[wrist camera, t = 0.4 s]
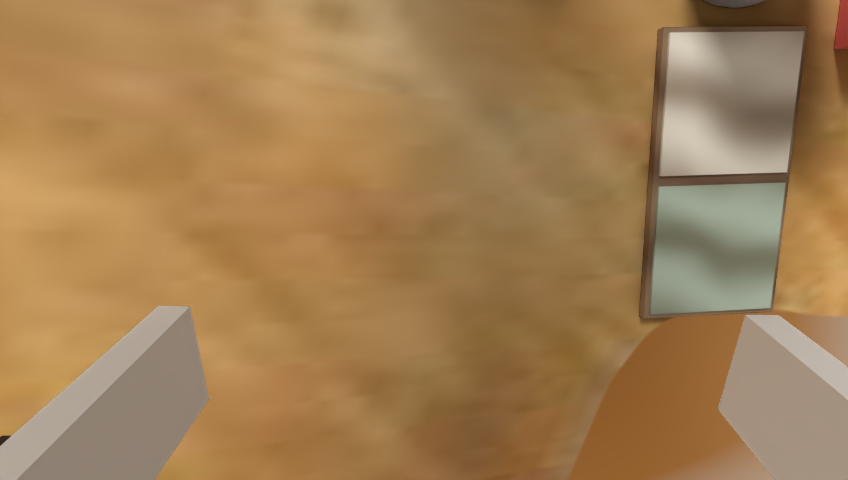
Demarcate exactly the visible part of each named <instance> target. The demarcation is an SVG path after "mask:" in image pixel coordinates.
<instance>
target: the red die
mask: <svg viewBox="0 0 848 480" xmlns="http://www.w3.org/2000/svg"><path fill="white" fill-rule="evenodd" d="M834 49H848V0H841V1H840V9H839V16H838V23H837V31H836V38H835V46H834Z"/></svg>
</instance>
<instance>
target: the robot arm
mask: <svg viewBox="0 0 848 480" xmlns="http://www.w3.org/2000/svg"><path fill="white" fill-rule="evenodd" d="M208 400H209V396H208V391H207V387H206V382H205V377H204V372H203V367H202V363H201V358H200V353H199V348H198V343H197V339H196V334H195V329H194V324H193V319H192V315H191V310H190V306H158V307H157V308H156V309H155V310H153V311H152V312H151V313H150V314H149V315H148V316H147V317H145V318H144V319H143V320H142V321H141V322H140V323H139V324H138V325H136V326H135V327H134V328H133V329H132V330H131V331H130V332H128V333H127V334H126V335H125V336H124V337H123V338H122V339H121V340H119V341H118V342H117V343H116V344H115V345H114V346H113V347H112V348H110V349H109V350H108V351H107V352H106V353H105V354H104V355H102V356H101V357H100V358H99V359H98V360H97V361H96V362H95V363H93V364H92V365H91V366H90V367H89V368H88V369H87V370H86V371H84V372H83V373H82V374H81V375H80V376H79V377H78V378H76V379H75V380H74V381H73V382H72V383H71V384H70V385H69V386H67V387H66V388H65V389H64V390H63V391H62V392H61V393H60V394H58V395H57V396H56V397H55V398H54V399H53V400H52V401H50V402H49V403H48V404H47V405H46V406H45V407H44V408H43V409H41V410H40V411H39V412H38V413H37V414H36V415H35V416H34V417H32V418H31V419H30V420H29V421H28V422H27V423H26V424H24V425H23V426H22V427H21V428H20V429H19V430H18V431H17V432H15V433H14V434H13V435H12V436H2V437H0V480H155V479H156V477H157V476H158V474H159V473H160V471H161V470H162V468H163V467H164V465H165V464H166V462H167V461H168V459H169V458H170V456H171V455H172V453H173V452H174V450H175V449H176V447H177V446H178V444H179V443H180V442H181V440H182V439H183V437H184V436H185V434H186V433H187V431H188V430H189V428H190V427H191V425H192V424H193V422H194V421H195V419H196V418H197V416H198V415H199V413H200V412H201V410H202V409H203V407H204V406H205V404H206V403H207V401H208ZM718 410H719V411H720V412H721V414H722V415H723V416H724V417H725V419H726V420H727V421H728V422H729V424H730V425H731V426H732V427H733V429H734V430H735V431H736V432H737V434H738V435H739V436H740V437H741V439H742V440H743V441H744V442H745V444H746V445H747V446H748V447H749V449H750V450H751V451H752V452H753V454H754V455H755V456H756V457H757V459H758V460H759V461H760V462H761V464H762V465H763V466H764V467H765V469H766V470H767V471H768V472H769V474H770V475H771V476H772V477H773V479H774V480H848V367H847V366H846V365H844V364H843V363H842V362H840V361H839V360H838V359H836V358H835V357H834V356H832V355H831V354H830V353H828V352H827V351H826V350H824V349H823V348H822V347H820V346H819V345H818V344H816V343H815V342H814V341H812V340H811V339H810V338H808V337H807V336H806V335H804V334H803V333H802V332H800V331H799V330H798V329H796V328H795V327H794V326H792V325H791V324H790V323H788V322H787V321H785V320H784V319H783V318H782V317H780V316H779V315H745V318H744V321H743V325H742V328H741V331H740V335H739V339H738V342H737V345H736V349H735V352H734V356H733V359H732V362H731V366H730V369H729V373H728V376H727V380H726V383H725V386H724V390H723V393H722V397H721V400H720V404H719V407H718Z"/></svg>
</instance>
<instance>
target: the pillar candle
mask: <svg viewBox="0 0 848 480" xmlns="http://www.w3.org/2000/svg"><path fill="white" fill-rule="evenodd" d="M704 1H705V2H707V3H709V4H712V5H716V6H723V7H731V8H740V7H747V6H751V5H755V4H758V3H761V2H763V1H765V0H704Z"/></svg>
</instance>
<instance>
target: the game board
mask: <svg viewBox="0 0 848 480" xmlns="http://www.w3.org/2000/svg"><path fill="white" fill-rule="evenodd" d="M807 28H808V26H757V27H663V28H661V29H659V30H658V39H657V54H656V69H655V84H654V100H653V115H652V130H651V145H650V160H649V175H648V190H647V206H646V221H645V236H644V251H643V266H642V281H641V296H640V311H639V316H641V317H642V318H644V319H646V318H665V317H683V316H700V315H701V316H702V315H720V314H738V313H757V312H772V311H773V303H774V295H775V287H776V279H777V271H778V263H779V254H780V246H781V238H782V230H783V222H784V214H785V206H786V198H787V190H788V182H789V174H790V165H791V157H792V149H793V141H794V133H795V125H796V117H797V109H798V101H799V93H800V85H801V77H802V68H803V60H804V52H805V44H806V36H807Z"/></svg>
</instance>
